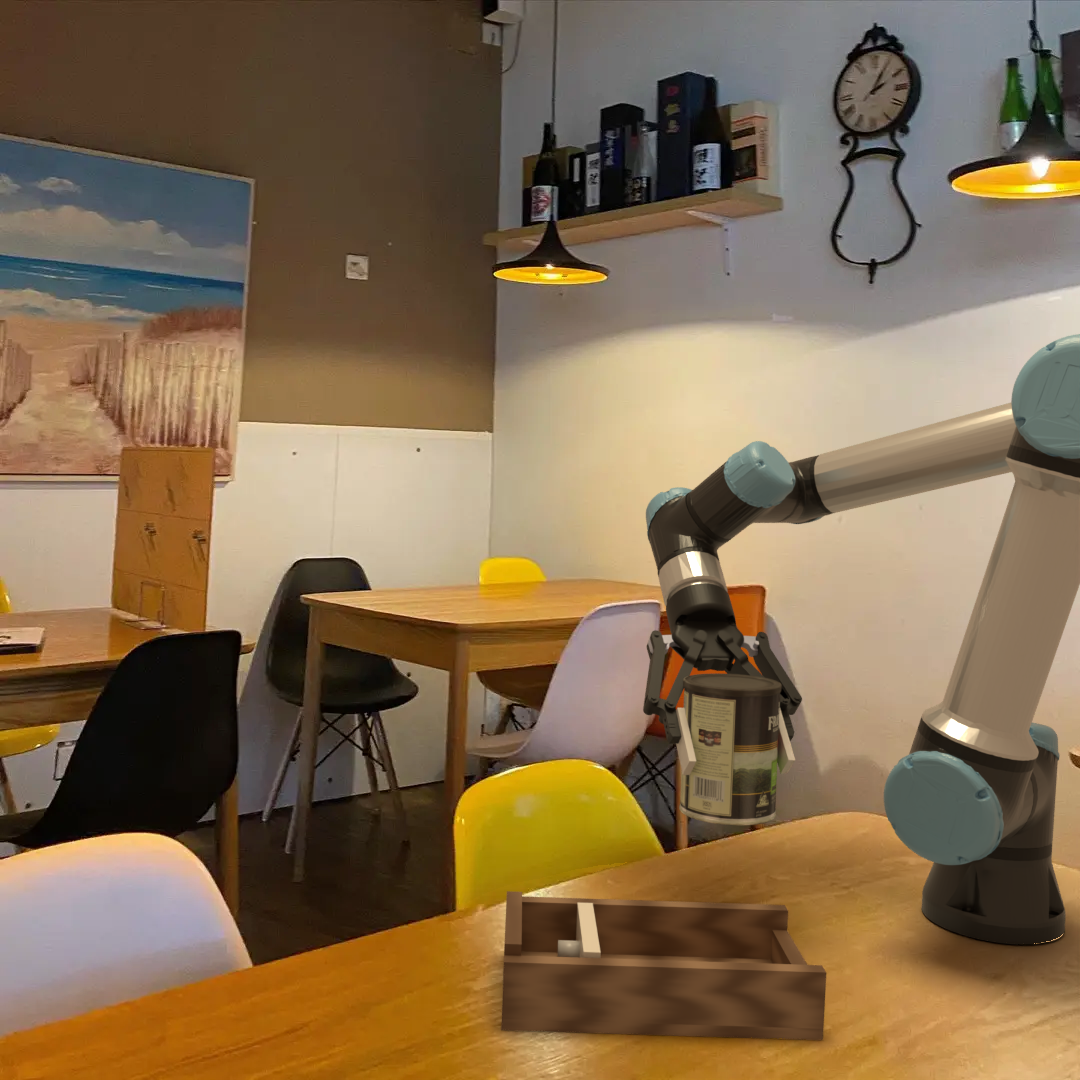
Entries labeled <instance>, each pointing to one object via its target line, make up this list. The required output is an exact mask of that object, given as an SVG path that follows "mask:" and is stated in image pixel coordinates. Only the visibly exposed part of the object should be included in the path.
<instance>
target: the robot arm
mask: <svg viewBox="0 0 1080 1080" xmlns="http://www.w3.org/2000/svg"><path fill="white" fill-rule="evenodd" d="M1010 400H1011V402H1008V403H1005V404H1000V405H996V406H992V407H989V408H986V409H982V410H979V411H975V412H971V413H968V414H964V415H960V416H959V415H958V416H956V417H952V418H948V419H945V420H942V421H937V422H934V423H931V424H927V425H923V426H920V427H916V428H912V429H909V430H905V431H900V432H897V433H894V434H890V435H886V436H882V437H878V438H875V439H872V440H868V441H865V442H861V443H857V444H853V445H849V446H845V447H843V448H839V449H835V450H831V451H828V452H827V451H826V452H824V453H820V454H818V455H813V456H809V457H806V458H802V459H801V458H800V459H799V460H795V461H790V462H789V461H788V460H787V459H786V457H785V456H784V455H783V454H782V453H781V452H780V451H779V450H778V448H777V449H776V447H774V446H770V444H769V443H767V442H765V441H761V440H755V441H752V442H749V443H748V444H747V445H746V446H745V447H744V446H743V448H741V449H740V450H739V451H737V452H734V453H733V454H732V455H731V456H729V457H728V458H727V460H726V461H725V462H724V463H723V464H722V465H721V466H718V468H717V469H716V470H715V471H713V472H712V473H711V474H709V476H708V477H706V478H705V479H704V480H703V481H701V482H700V483H699V484H698V485H696V487H694V488H693V489H691V488H689V487H688V488H687V487H679V486H678V487H671V488H669V490H667V491H661V492H659V493H657V494H656V495H654V497H652V498H651V499H650V501H649V502H648V504H647V507H646V508H645V520H646V521H645V522H646V529H647V531H646V535H647V540H648V542H649V544H650V548H651V552H652V555H653V559H654V562H655V565H656V569H657V576H658V582H659V586H660V590H661V591H660V592H661V594H662V595H661V596H662V599H663V603H664V606H665V614H666V618H667V621H668V625H669V631H670V633H671V634H662V632H661V631H659V630H656V629H654V630H652V631H651V632H650V636H649V637H648V638H649V639H648V641H647V644H646V650H647V654H648V658H649V665H648V673H647V679H646V685H645V694H644V701H643V707H642V711H643V713H644V714H645V715H646V716H653V715H657V716H658V722H659V723H660V724H662V725H663V726H664V727H663V728H664V733H665V737H666V740H667V742H668V744H670V745H671V744H673V745H674V744H675V746H676V750H677V755H678V759H679V763H680V764H679V765H680V768H681V769H682V774H683V775H690V773H691V771H692V769H693V767H694V765H695V763H696V757H695V753H694V748H693V744H692V740H691V735H690V731H689V726H688V722H687V718H686V714H685V709H684V707H677V706H678V703H679V700H680V699H681V696H682V694H683V693H684V686H683V679H684V678H685V677H687V676H690V675H692V672H693V670H694V669H696V670H697V671H698V672H705V671H709V670H712V671H715V672H724V671H725V674H739V675H751V676H758V677H764V678H768V679H772V680H775V681H778V682H780V683H781V685H782V689H781V692H780V711H779V734H778V758H777V768H778V769H779V773H780V774H781V775H784V774H786V775H787V774H788V773H789V771H790V770H791V768H792V766H793V765H794V763H795V761H796V757H795V755H794V750H793V748H792V744H791V742H792V740H793V738H794V736H795V729H794V727H793V722H792V719H791V716H793V715H795V714H796V713H797V711H798V708H799V706H800V705H801V704H802V701H803V697H802V695H801V694H800V692H799V691H798V689H797V687H796V686H795V685H794V683H793V681H792V680H791V679H790V677H789V675H788V674H787V672H786V671H785V669H784V667H783V665H782V664H781V662H780V661H779V660H778V658H777V656H776V655H775V653H774V652H773V650H772V649H771V646H770V641H769V638H768V635H767V633H766V632H764V631H759V632H757V634H756V636H755V635H754V636H753V635H743V632H741V631H740V630H739V627H738V626H737V622H736V616H735V612H734V609H733V604H732V601H731V598H730V594H729V592H728V588H727V587H728V586H727V583H726V580H725V576H724V573H723V570H722V569H723V568H722V567H721V562H720V558H719V555H718V550H719V549H720V548H721V547H722V546H724V545H725V544H726V543H728V542H729V541H731V540H732V539H734V538H735V537H736V536H737V535H738V534H740V533H741V532H742V531H744V530H745V529H746V528H747V527H749V526H750V525H752V524H779V523H780V524H791V525H792V524H793V525H802V524H809V523H813V522H815V521H816V522H817V521H819V520H820V519H822V518H824V517H825V516H829V515H832V514H836V513H840V512H844V511H845V512H846V511H849V510H853V509H857V508H863V507H866V506H872V505H874V504H875V505H876V504H879V503H884V502H889V501H892V500H896V499H901V498H906V497H911V496H913V495H919V494H923V493H928V492H933V491H935V490H940V489H945V488H947V487H953V486H958V485H961V484H965V483H969V482H975V481H979V480H983V479H989V478H992V477H997V476H1000V475H1004V474H1005V475H1006V474H1009V473H1012V475H1013V477H1014V483H1013V487H1012V489H1011V493H1010V495H1009V499H1008V502H1007V506H1006V507H1005V508H1006V509H1005V511H1004V515H1003V517H1002V521H1001V524H1000V526H999V529H998V533H997V535H996V539H995V542H994V544H993V547H992V551H991V554H990V556H989V559H988V563H987V565H986V569H985V572H984V576H983V578H982V581H981V585H980V587H979V590H978V593H977V596H976V599H975V602H974V605H973V609H972V610H971V614H970V618H969V621H968V623H967V626H966V629H965V631H964V632H965V633H964V636H963V638H962V641H961V645H960V648H959V651H958V654H957V657H956V660H955V663H954V665H953V669H952V672H951V675H950V678H949V682H948V685H947V687H946V690H945V693H944V697H943V699H942V701H941V702H940V703H938V704H936V705H934V706H931V707H928V708H927V709H924V710H923V713H922V714H921V717H920V720H919V723H918V726H917V729H916V732H915V736H914V739H913V742H912V744H911V747H910V750H909V753H908V754H907V755H906V756H903V757H902V758H900V759H899V760H898V762H897V763H896V764H895V765H894V766H893V768H892V769H891V771H890V772H889V773H888V776H887V777H886V779H885V780H886V781H885V784H884V788H883V806H884V811H885V814H886V817H887V820H888V822H889V823H890V825H891V828H892V829H893V831H894V833H895V835H896V837H898V839H900V841H901V842H902V843H903V844H904V845H905V846H906V847H907V848H908V849H909V850H910V851H912V852H913V853H915V855H918V856H919V857H920V858H923V859H925V860H927V861H930V862H933V863H932V866H931V869H930V871H929V873H928V875H927V877H926V880H925V882H924V885H923V887H922V891H921V892H922V895H921V911H922V913H923V914H924V916H925V917H926V918H927V919H929V921H931V922H932V923H934V924H936V925H938V926H940V927H942V928H944V929H946V930H948V931H950V932H953V933H955V934H959V935H962V936H965V937H969V938H973V939H976V940H981V941H986V942H991V943H992V942H993V943H996V944H997V943H998V944H1006V945H1018V944H1033V945H1037V944H1036V943H1041V942H1046V941H1051V940H1053V939H1056V938H1058V937H1060V936H1061V935H1062V934H1063V933H1064V934H1065V932H1066V931H1065V930H1066V918H1067V917H1066V916H1067V915H1066V908H1065V905H1064V902H1063V897H1062V894H1061V891H1060V890H1061V889H1060V888H1059V887H1060V886H1059V884H1058V879H1057V876H1056V872H1055V870H1054V866H1053V865H1054V864H1053V861H1052V860H1053V859H1052V856H1053V855H1052V854H1053V841H1054V839H1053V838H1054V825H1055V812H1056V810H1055V809H1056V794H1057V793H1056V792H1057V779H1058V778H1057V777H1058V764H1059V762H1058V761H1060V755H1061V754H1060V752H1059V737H1058V735H1057V732H1056V731H1055V730H1054V729H1053V728H1052V727H1050V726H1048V725H1046V724H1041V723H1038V722H1033V720H1034V717H1035V714H1036V711H1037V708H1038V705H1039V703H1040V699H1041V697H1042V694H1043V691H1044V688H1045V685H1046V683H1047V679H1048V677H1049V674H1050V672H1051V668H1052V665H1053V662H1054V660H1055V656H1056V655H1057V654H1056V653H1057V651H1058V648H1059V646H1060V642H1061V639H1062V636H1063V635H1064V634H1063V633H1064V630H1065V628H1066V625H1067V622H1068V620H1069V616H1070V613H1071V611H1072V608H1073V605H1074V602H1075V599H1076V596H1077V593H1078V590H1079V588H1080V333H1078V334H1071V335H1066V336H1064V337H1061V338H1058V339H1055V340H1053V341H1052V342H1049V343H1048V344H1046V345H1045V346H1042V347H1041V348H1039V349H1038V350H1037V352H1035V353H1034V354H1033V355H1032V356H1031V357H1029V359H1028V360H1027V361H1026V362H1025V364H1024V365H1023V367H1022V368H1021V370H1019V373H1018V375H1017V377H1016V378H1015V381H1014V384H1013V387H1012V392H1011V399H1010ZM669 648H671V649H672V650H673V651H674V652H676V654H677V655H679V656H680V657H681V659H683V662H682V664H681V666H680V668H679V670H678V673H677V675H676V678H675V680H674V681H673V683H672V686H671V688H670V690H669V693H668V694H667V697H666V699H664V698H661V697H660V696H661V688H662V687H661V686H662V679H663V672H664V664H665V656H666V655H667V654H668V651H669ZM743 649H745V650H747V653H748V655H747V653H745V652H744V651H743ZM749 657H750V658H753V661H754V664H755V665H756V667H757V668H756V667H755V666H754V665H753V664H752V662H750V660H749ZM676 707H677V708H676ZM1064 931H1065V932H1064ZM1034 943H1035V944H1034Z"/></svg>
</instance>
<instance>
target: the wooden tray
mask: <svg viewBox="0 0 1080 1080" xmlns="http://www.w3.org/2000/svg"><path fill="white" fill-rule="evenodd" d="M577 903H593V908H594V914H595V921H596V927H597V933H598V939H599V946H600V952H601V955H600V958H579V957H557V954H558V940H570V941H576V927H577ZM505 905H506V906H505V921H504V922H505V923H504V924H505V926H504V927H505V928H504V949H503V950H504V951H503V971H502V972H503V974H502V975H503V976H502V977H503V978H502V997H501V998H502V999H501V1000H502V1002H501V1003H502V1004H501V1022H500V1023H501V1025H500V1026H501V1029H500V1030H501V1031H513V1032H514V1031H517V1032H519V1031H520V1032H521V1031H522V1032H549V1033H550V1032H551V1033H553V1032H555V1033H583V1034H610V1035H611V1034H614V1035H615V1034H617V1035H644V1036H645V1035H646V1036H649V1035H650V1036H652V1035H653V1036H674V1037H675V1036H677V1037H707V1038H709V1037H713V1038H714V1037H715V1038H738V1039H739V1038H741V1039H743V1038H744V1039H770V1038H777V1039H779V1038H782V1039H781V1040H802V1039H803V1040H804V1039H806V1040H808V1041H823V1040H824V1027H825V1010H826V1009H825V1005H826V988H827V986H826V985H827V971H826V970H825V968H824V967H823V965H821V964H807V962H806V960H805V958H804V957H803V955H802V953H801V952H800V949H799V947H798V946H797V944H796V943H795V941H794V939H793V938H792V936H791V934H790V933H789V931H788V920H789V910H788V908H787V906H786V905H785V904H768V903H767V904H765V903H762V904H761V903H737V902H736V903H734V902H733V903H732V902H706V901H705V902H704V901H702V902H701V901H700V902H699V901H698V902H697V901H672V900H670V901H667V900H646V899H645V900H642V899H616V898H615V899H611V898H610V899H609V898H607V899H606V898H586V897H585V898H582V897H581V898H580V897H554V896H553V897H549V896H523V891H506V904H505ZM751 1037H752V1038H751ZM784 1038H785V1039H784ZM777 1039H776V1040H777ZM779 1040H780V1039H779Z"/></svg>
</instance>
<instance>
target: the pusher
mask: <svg viewBox="0 0 1080 1080" xmlns="http://www.w3.org/2000/svg"><path fill="white" fill-rule="evenodd" d="M600 955H601V952H600V946H599V939H598V933H597V927H596V921H595V914H594V908H593V903H577V927H576V941H570V940H558V954H557V957H579V958H600Z"/></svg>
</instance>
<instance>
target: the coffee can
mask: <svg viewBox="0 0 1080 1080" xmlns="http://www.w3.org/2000/svg"><path fill="white" fill-rule="evenodd" d="M683 686H684V689H683V708H684V709H685V714H686V718H687V722H688V726H689V731H690V735H691V740H692V744H693V748H694V753H695V757H696V763H695V765H694V767H693V769H692V771H691V773H690V775H683V774H682V769H681V771H680V797H679V798H680V801H679V806H678V808H679V811H680V812H681V813H682V814H683V815H685V816H687V817H688V818H691V819H693V820H696V821H700V822H704V823H709V824H716V825H723V826H755V825H756V826H757V825H762V824H766V823H769V822H772V821H774V819H776V818H777V812H776V811H777V810H776V802H777V779H778V776H777V775H778V763H777V758H778V734H779V711H780V692H781V689H782V685H781V683H780V682H778V681H775V680H772V679H768V678H764V677H758V676H751V675H739V674H727V673H720V672H719V673H716V672H715V673H698V674H697V673H696V674H690V676H687V677H685V678H684V679H683Z"/></svg>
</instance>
